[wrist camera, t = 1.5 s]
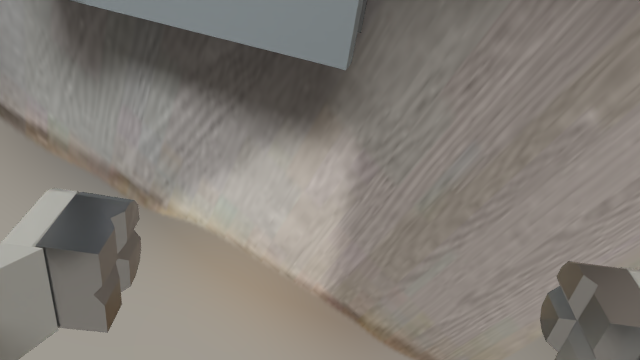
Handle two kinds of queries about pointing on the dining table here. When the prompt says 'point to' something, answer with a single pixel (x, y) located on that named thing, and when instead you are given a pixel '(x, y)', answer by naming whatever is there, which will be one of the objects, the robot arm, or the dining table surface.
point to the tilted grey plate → (260, 23)
